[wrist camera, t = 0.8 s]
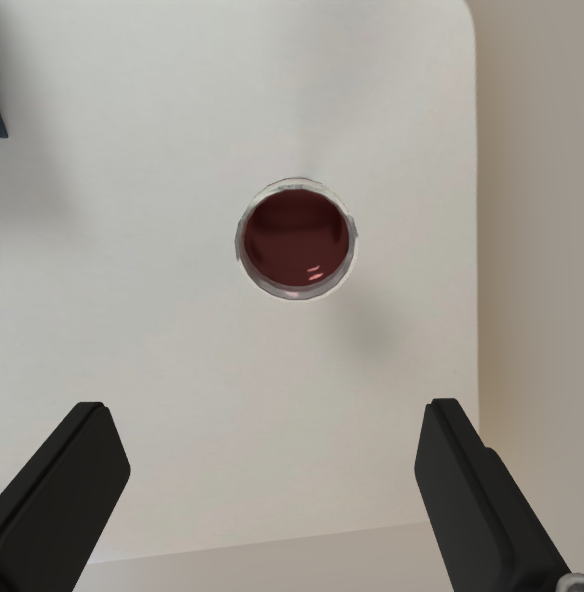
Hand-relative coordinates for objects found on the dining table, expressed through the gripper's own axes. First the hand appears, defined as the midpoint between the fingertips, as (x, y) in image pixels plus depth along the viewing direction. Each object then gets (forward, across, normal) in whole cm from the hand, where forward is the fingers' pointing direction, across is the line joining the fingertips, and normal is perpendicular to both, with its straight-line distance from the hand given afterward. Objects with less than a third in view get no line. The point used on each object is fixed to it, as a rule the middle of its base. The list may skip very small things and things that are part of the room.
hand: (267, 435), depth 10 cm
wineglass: (+22, -1, -2) cm, 22 cm away
